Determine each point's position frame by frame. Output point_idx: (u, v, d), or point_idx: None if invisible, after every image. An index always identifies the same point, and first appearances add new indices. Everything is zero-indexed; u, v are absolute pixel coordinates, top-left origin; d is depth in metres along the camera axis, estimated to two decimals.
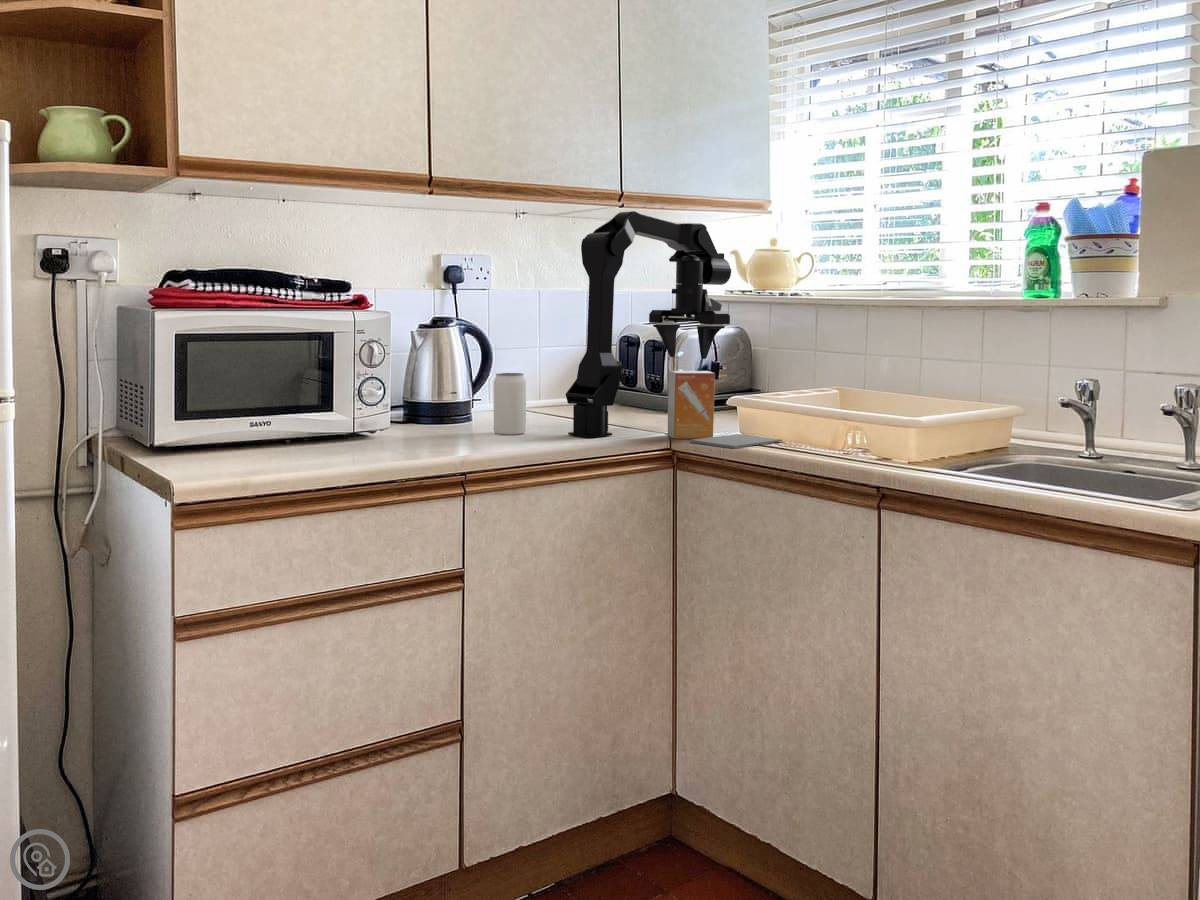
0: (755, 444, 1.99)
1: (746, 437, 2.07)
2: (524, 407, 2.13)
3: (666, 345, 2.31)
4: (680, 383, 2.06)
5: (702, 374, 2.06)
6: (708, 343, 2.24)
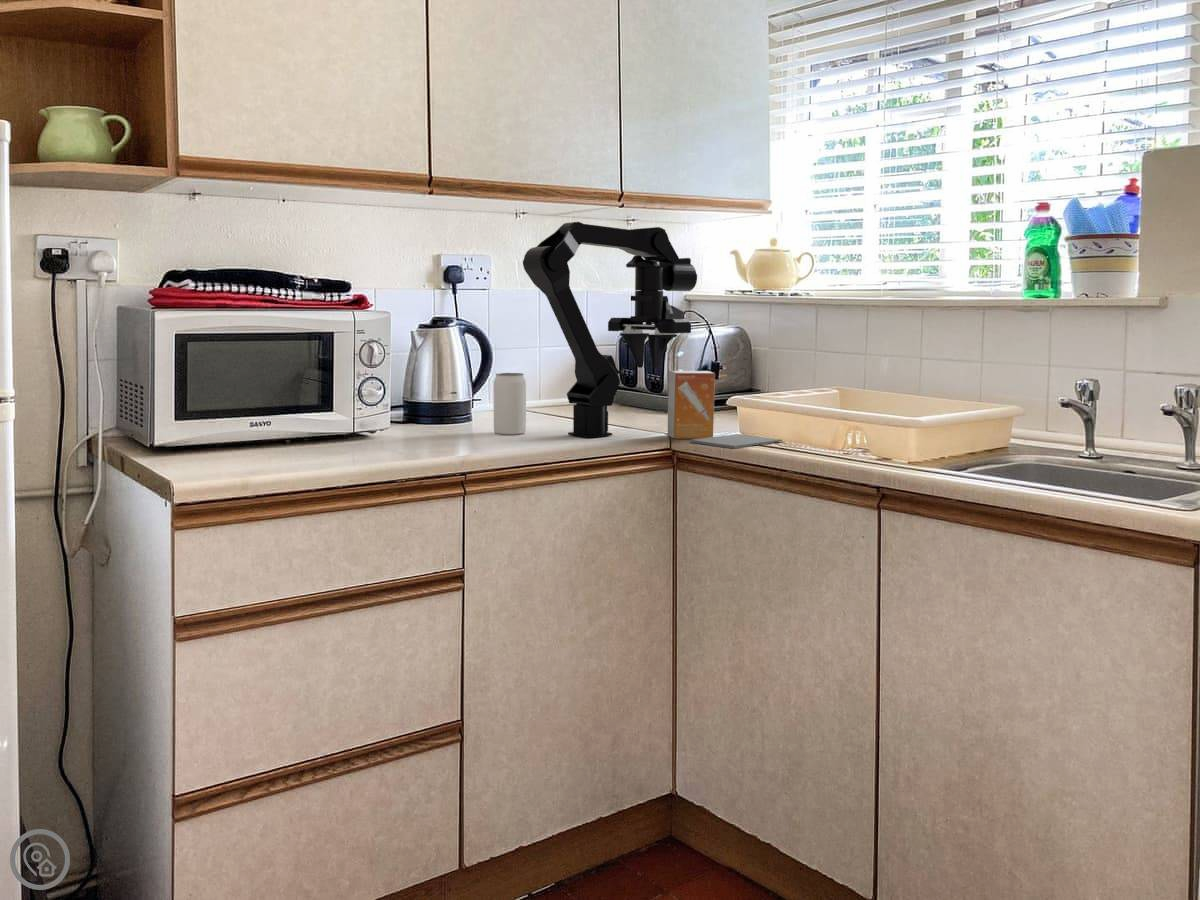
0: (755, 444, 1.99)
1: (746, 437, 2.07)
2: (524, 407, 2.13)
3: (634, 355, 2.19)
4: (680, 383, 2.06)
5: (702, 374, 2.06)
6: (660, 352, 2.15)
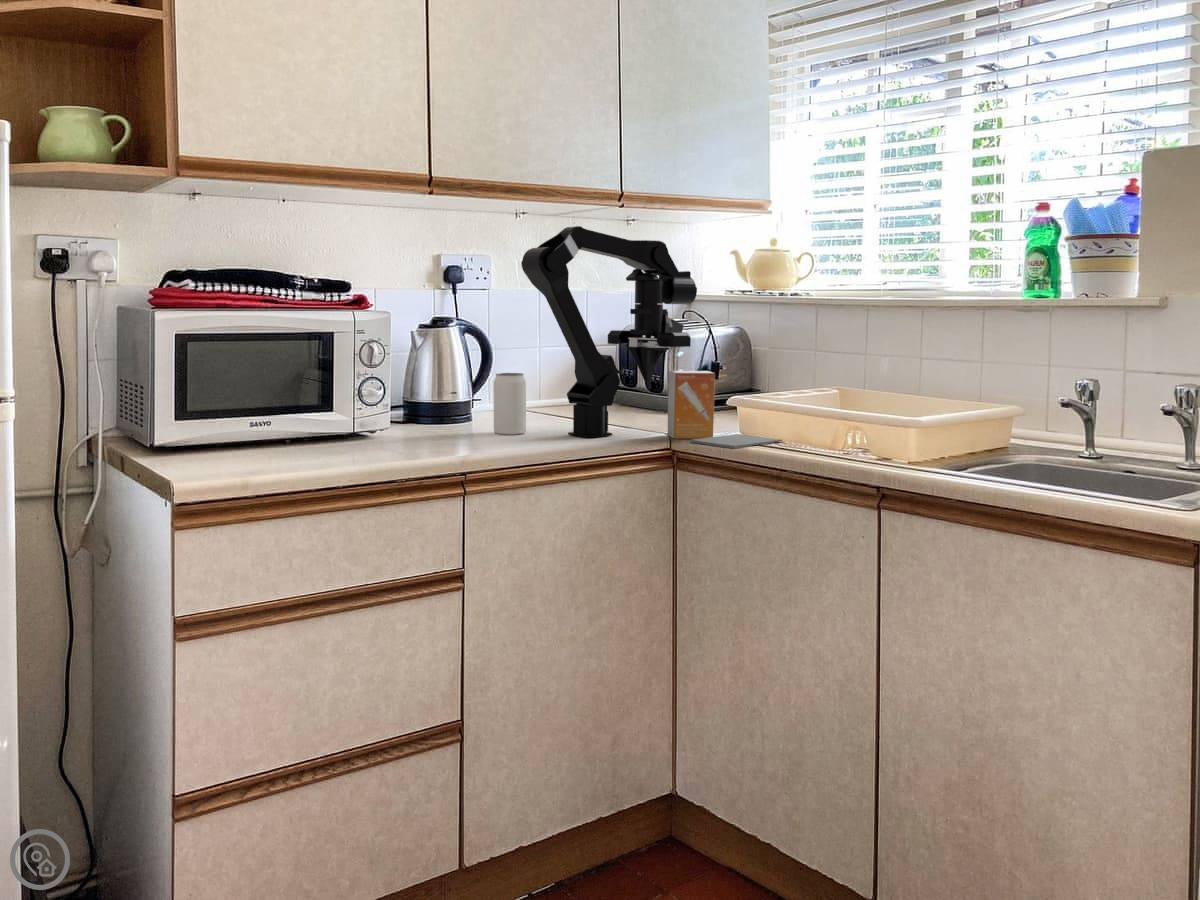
0: (755, 444, 1.99)
1: (746, 437, 2.07)
2: (524, 407, 2.13)
3: (640, 368, 2.17)
4: (680, 383, 2.06)
5: (702, 374, 2.06)
6: (653, 365, 2.17)
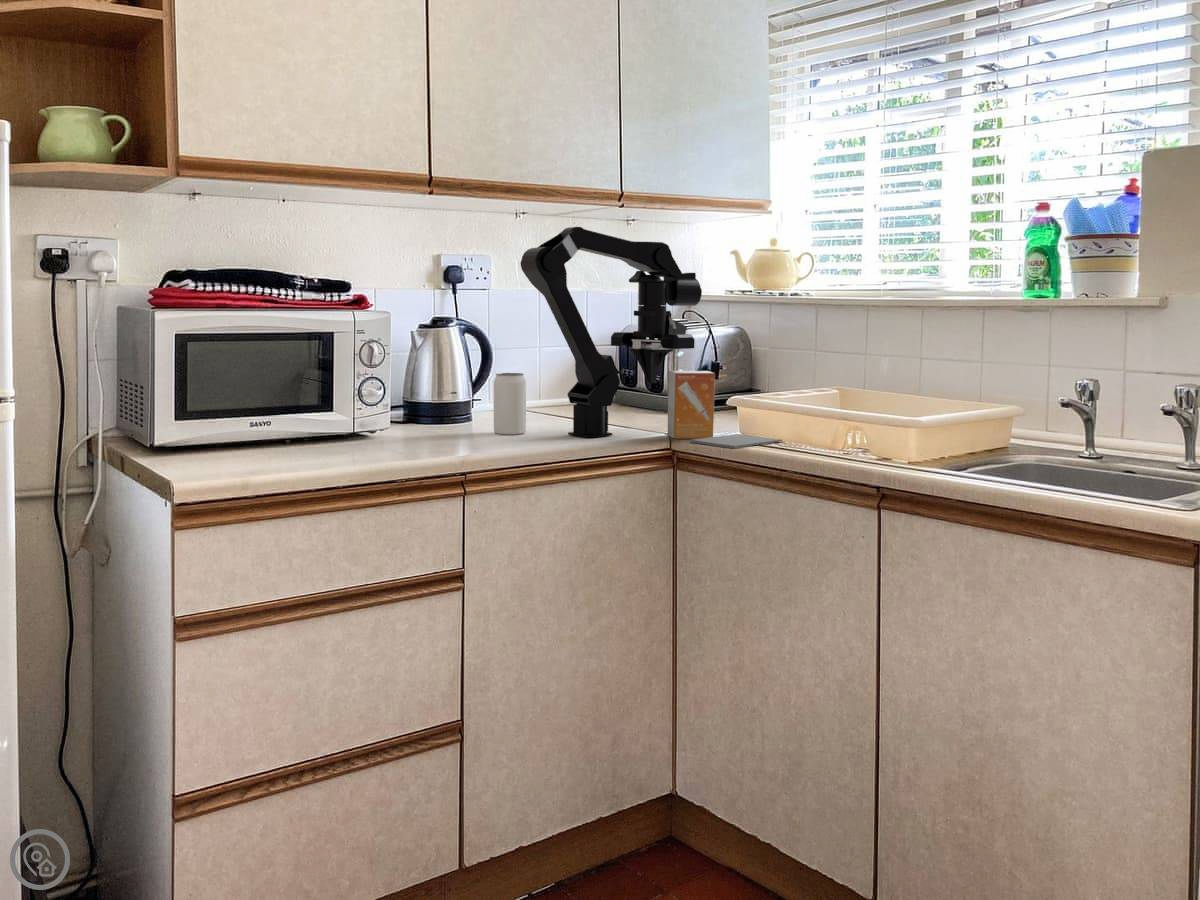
0: (755, 444, 1.99)
1: (746, 437, 2.07)
2: (524, 407, 2.13)
3: (644, 370, 2.17)
4: (680, 383, 2.06)
5: (702, 374, 2.06)
6: (656, 367, 2.16)
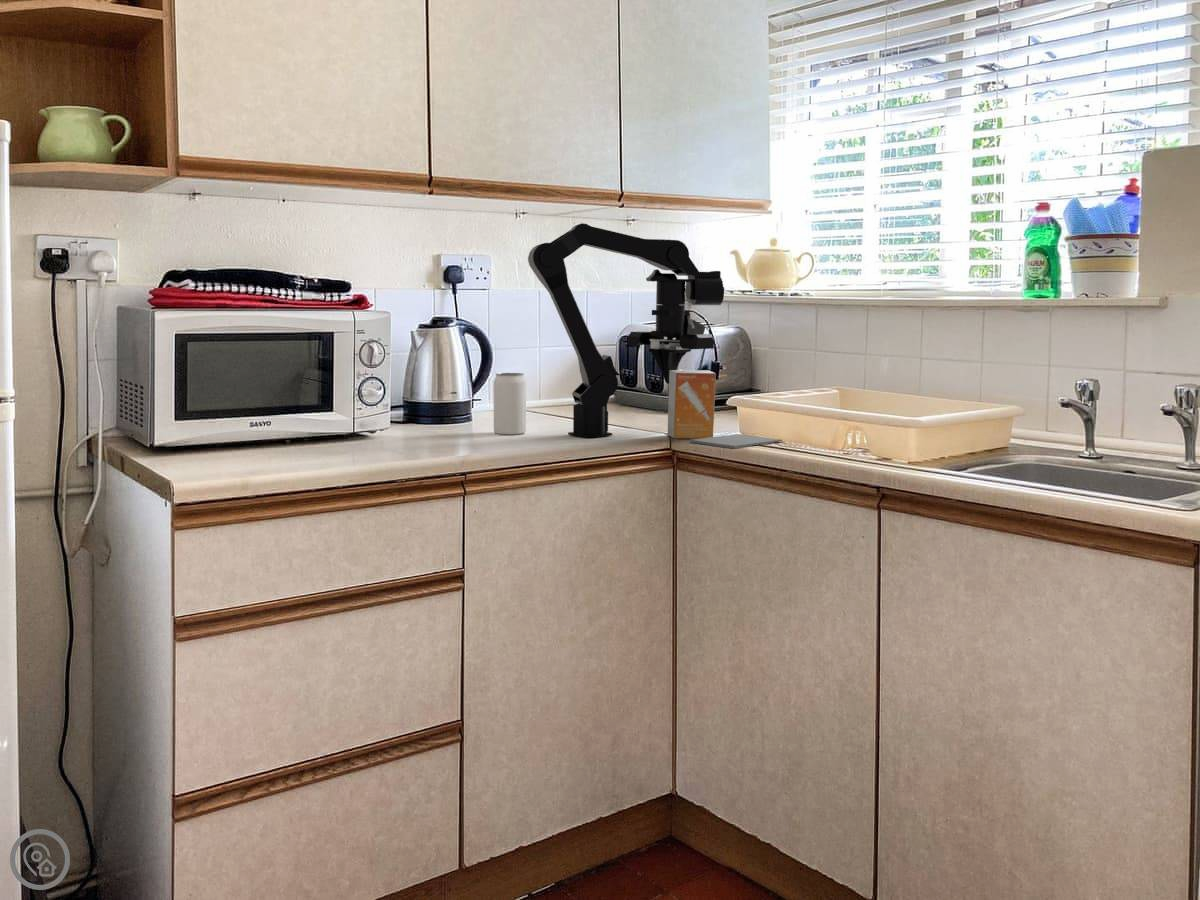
0: (755, 444, 1.99)
1: (746, 437, 2.07)
2: (524, 407, 2.13)
3: (662, 371, 2.13)
4: (681, 383, 2.06)
5: (703, 374, 2.06)
6: (674, 367, 2.13)
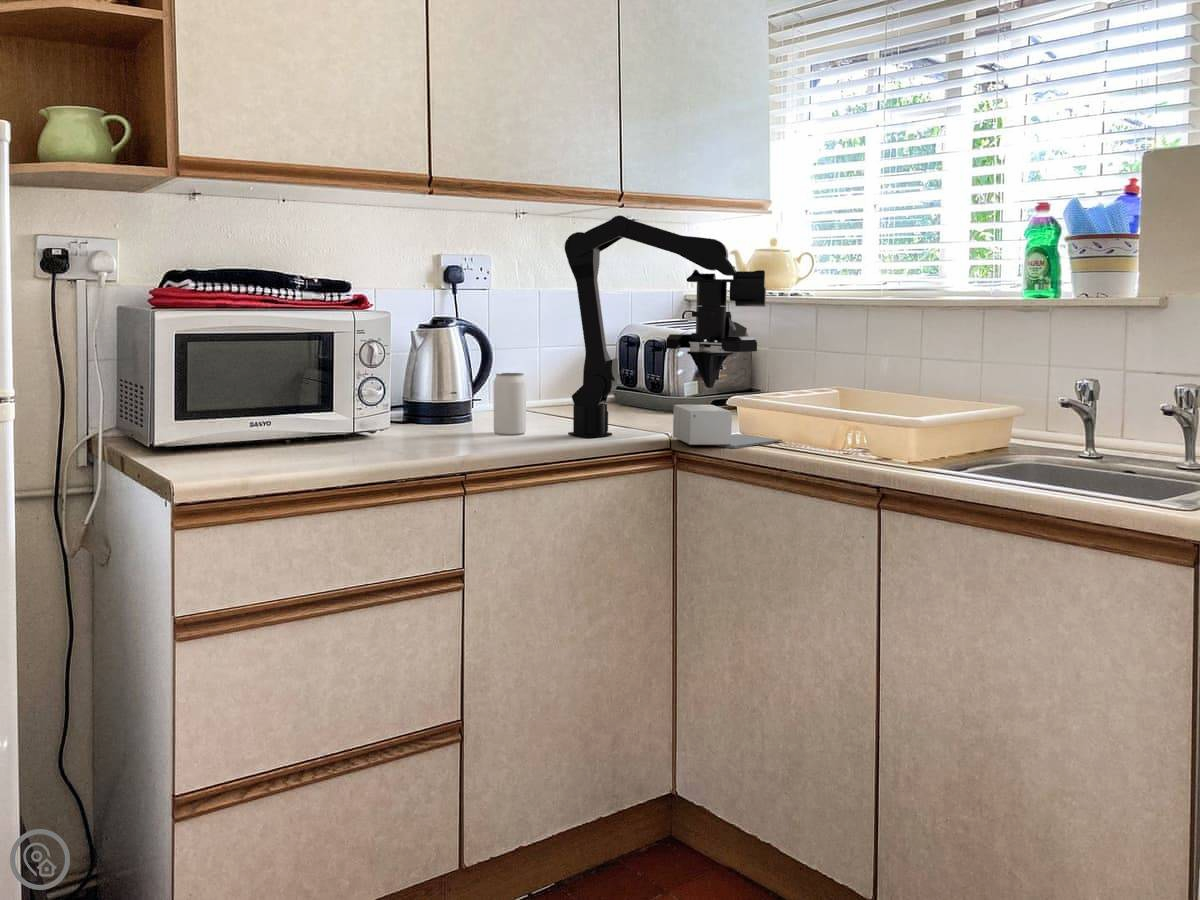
0: (755, 444, 1.99)
1: (746, 437, 2.07)
2: (524, 407, 2.13)
3: (702, 375, 2.05)
4: None
5: (717, 444, 1.96)
6: (715, 371, 2.05)
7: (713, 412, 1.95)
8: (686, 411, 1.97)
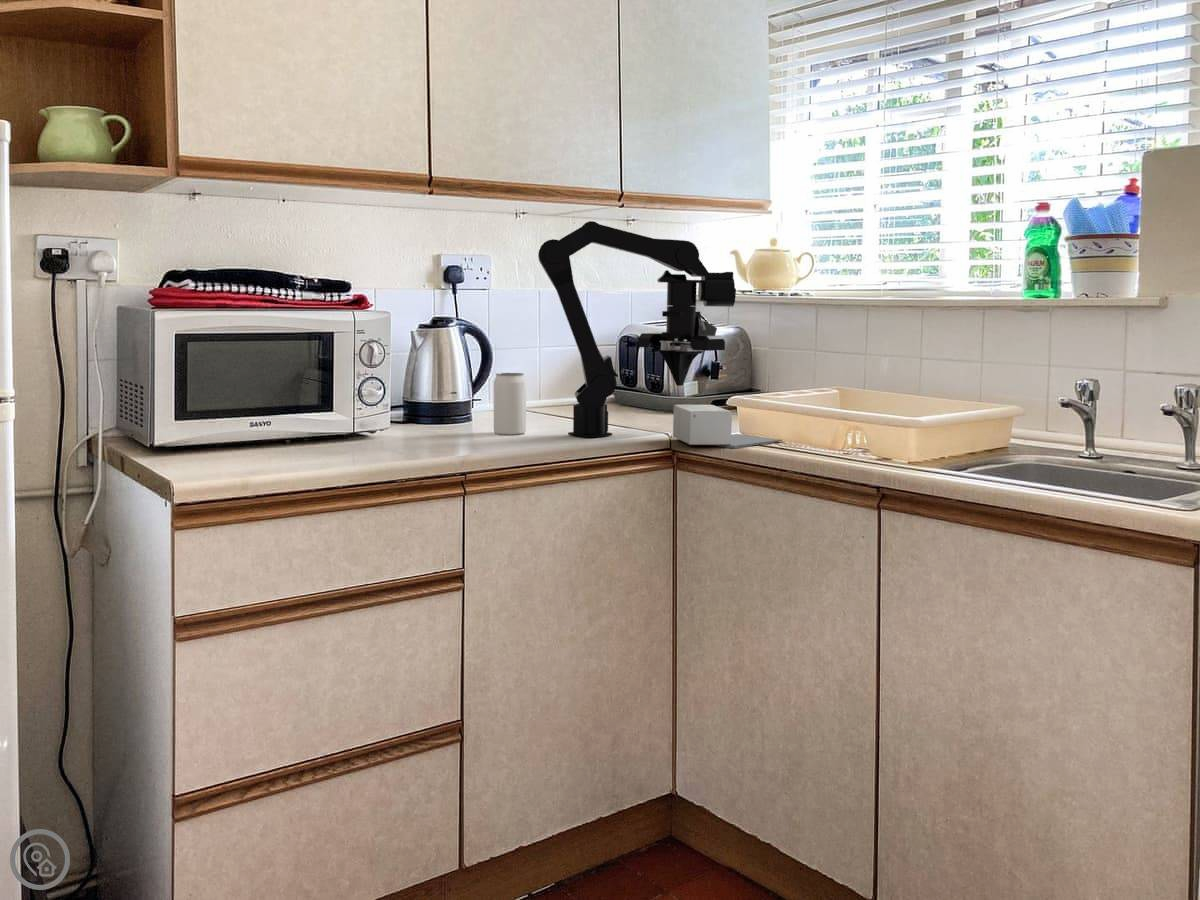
0: (755, 444, 1.99)
1: (746, 437, 2.07)
2: (524, 407, 2.13)
3: (672, 373, 2.11)
4: None
5: (717, 444, 1.96)
6: (685, 369, 2.11)
7: (713, 412, 1.95)
8: (686, 411, 1.97)
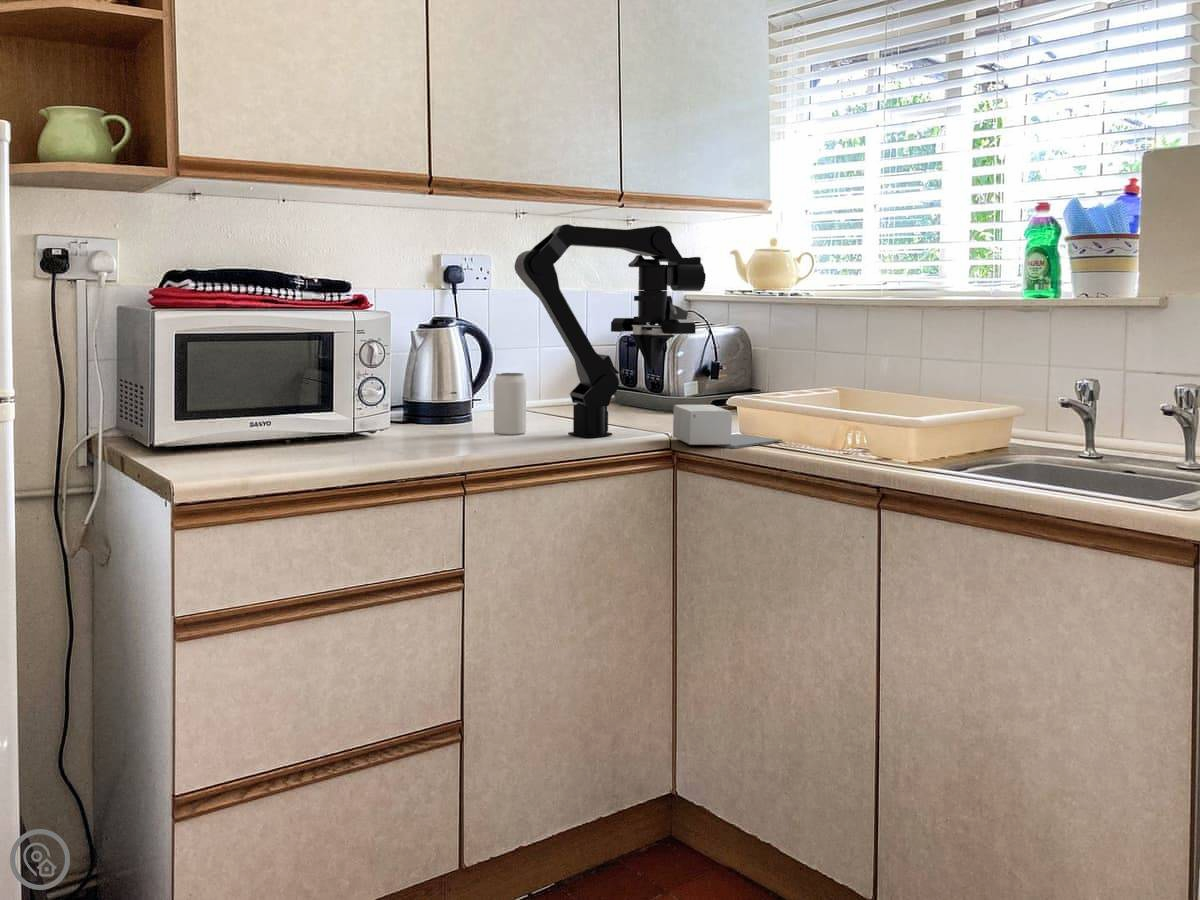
0: (755, 444, 1.99)
1: (746, 437, 2.07)
2: (524, 407, 2.13)
3: (644, 356, 2.14)
4: None
5: (717, 444, 1.96)
6: (657, 353, 2.13)
7: (713, 412, 1.95)
8: (686, 411, 1.97)
